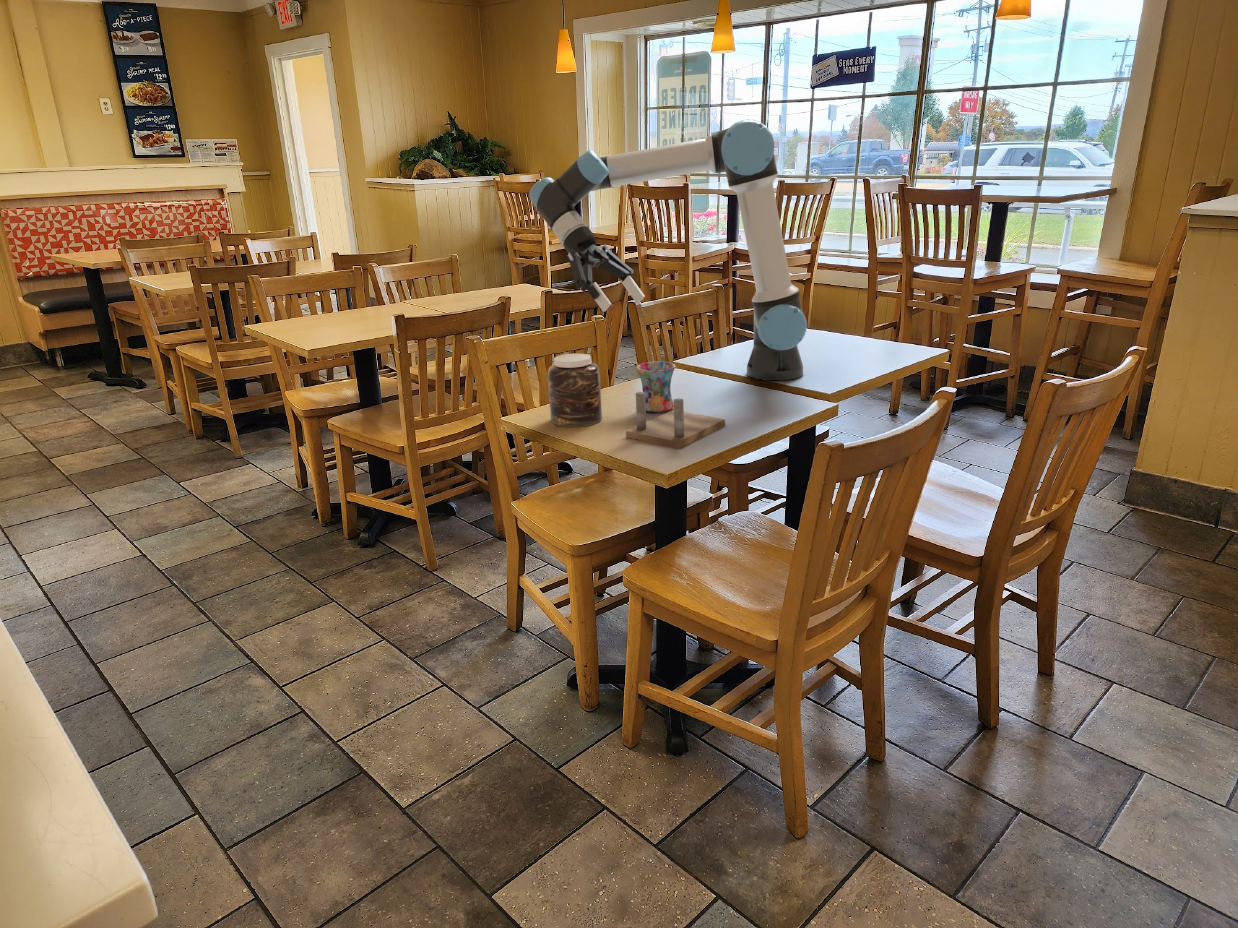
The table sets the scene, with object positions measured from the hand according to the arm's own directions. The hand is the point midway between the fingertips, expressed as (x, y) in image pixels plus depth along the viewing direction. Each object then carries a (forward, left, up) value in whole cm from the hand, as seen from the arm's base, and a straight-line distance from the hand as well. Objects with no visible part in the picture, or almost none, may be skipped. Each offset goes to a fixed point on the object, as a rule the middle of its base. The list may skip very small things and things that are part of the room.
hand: (624, 304), depth 193 cm
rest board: (+13, +23, -24) cm, 36 cm away
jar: (+18, -2, -25) cm, 30 cm away
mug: (0, +9, -25) cm, 26 cm away
